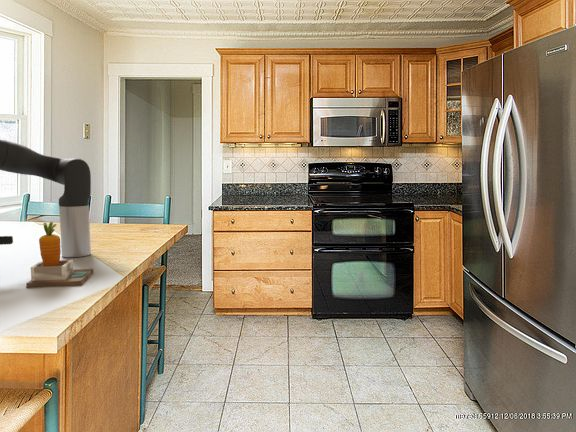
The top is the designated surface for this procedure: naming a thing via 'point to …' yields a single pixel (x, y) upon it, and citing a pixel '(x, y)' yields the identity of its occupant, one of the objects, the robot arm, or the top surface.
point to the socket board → (57, 275)
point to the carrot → (50, 246)
